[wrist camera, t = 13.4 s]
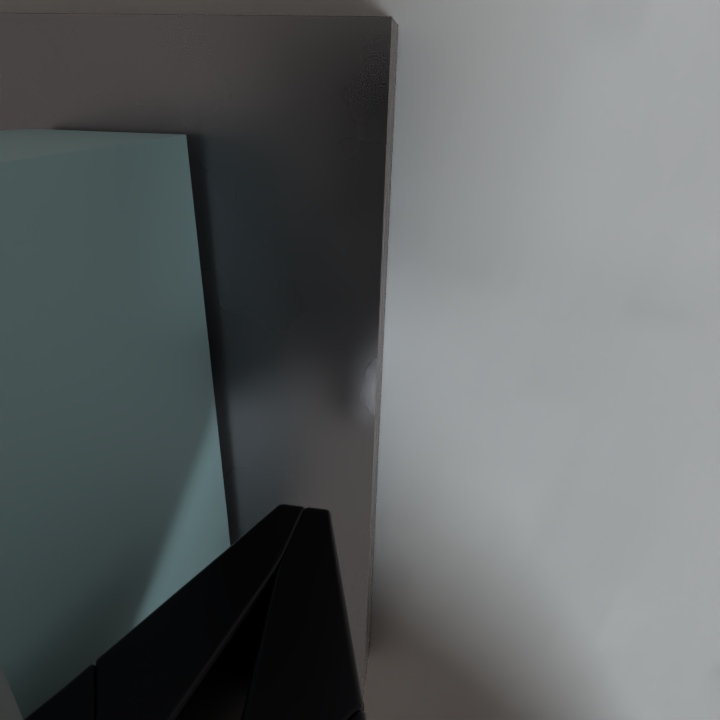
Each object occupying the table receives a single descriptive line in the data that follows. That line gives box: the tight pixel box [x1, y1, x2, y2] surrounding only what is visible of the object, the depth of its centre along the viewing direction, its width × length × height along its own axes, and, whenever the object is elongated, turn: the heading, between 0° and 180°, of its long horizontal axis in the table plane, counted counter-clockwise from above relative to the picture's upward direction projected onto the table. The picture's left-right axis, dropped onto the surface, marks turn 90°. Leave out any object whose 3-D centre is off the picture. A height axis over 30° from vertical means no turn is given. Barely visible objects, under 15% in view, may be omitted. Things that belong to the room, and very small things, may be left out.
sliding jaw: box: [0, 129, 230, 720], centre depth 8 cm, size 2×11×5 cm, turn 179°
